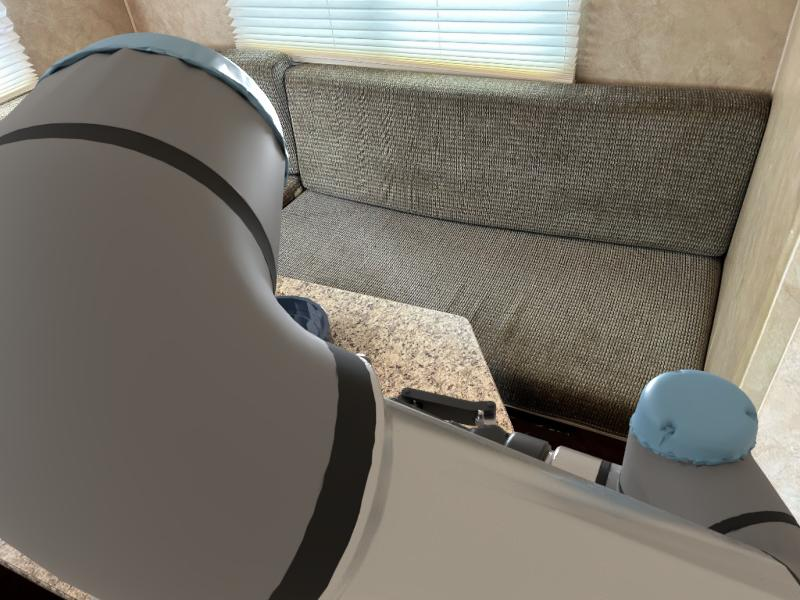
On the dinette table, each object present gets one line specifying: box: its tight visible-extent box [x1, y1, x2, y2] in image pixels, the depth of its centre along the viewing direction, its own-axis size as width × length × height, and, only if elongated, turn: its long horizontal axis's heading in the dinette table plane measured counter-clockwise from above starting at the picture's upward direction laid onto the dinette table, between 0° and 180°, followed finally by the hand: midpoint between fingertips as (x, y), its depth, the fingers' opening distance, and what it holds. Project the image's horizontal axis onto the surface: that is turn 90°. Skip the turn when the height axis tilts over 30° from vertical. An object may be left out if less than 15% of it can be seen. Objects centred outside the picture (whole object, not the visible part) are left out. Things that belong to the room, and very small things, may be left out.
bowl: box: [275, 295, 335, 345], centre depth 97 cm, size 17×17×6 cm
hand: (323, 407), depth 64 cm, fingers closed on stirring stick, 3 cm apart
